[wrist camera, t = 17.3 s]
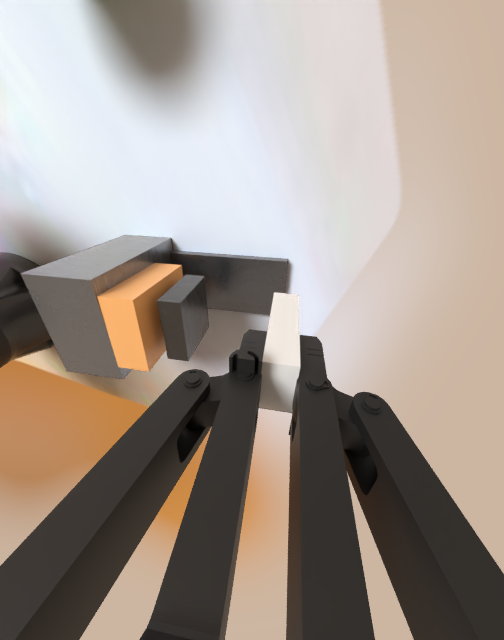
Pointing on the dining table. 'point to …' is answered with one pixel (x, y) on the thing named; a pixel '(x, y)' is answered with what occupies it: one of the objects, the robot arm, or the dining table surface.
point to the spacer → (138, 315)
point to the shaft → (184, 316)
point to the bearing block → (122, 263)
